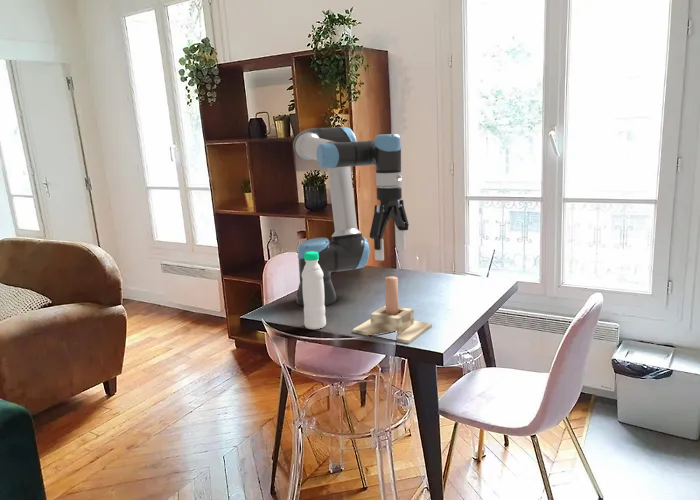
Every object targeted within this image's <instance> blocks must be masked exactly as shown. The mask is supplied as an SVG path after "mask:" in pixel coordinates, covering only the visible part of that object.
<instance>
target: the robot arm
mask: <svg viewBox="0 0 700 500" xmlns="http://www.w3.org/2000/svg"><path fill="white" fill-rule="evenodd" d="M374 138H375V139H372V140H370V139H369V140H365V141H364V140H361V141H357V140H358V139H357V137H356V135H355V133H354V131H353V130H352V129H351V128H350V127H347V126H344V127H343V126H334V127H313V128H311V127H310V128H307V129H304V130H302V131H301V132H299V133H297V135H296V136H295V137H294V140H293V144H292V146H293V151H294V152H295V154H296V155H297V156H298V157H299V158H300V159H303V160H306V161H310V160H311V161H312V160H314V161H317V162H316V163H317V164H318V166H319V167H320V168H321V169H327V173H328V181H329V182H328V183H329V192H330V193H329V194H330V199H331V209H332V217H333V218H332V219H333V225H334V227H333V228H334V232H333V233H332V235H331V240H329V238H327V237H314V238H310V239H307V240H304V241H302V242H300V244H299V245H298V247H297V248H298V249H297V258H298V271H299V272H298V274H299V284H298V287H297V293H296V295H295V299H296V301H295V302H296V304H297V305H299V306H302V307H304V301H303V289H302V280H303V279H302V272H303V269H304V266H305V265H306V262H305V259H304V254H305V253H306V252H309V251H315V252H318V254H319V260H318V264H319V265H320V268H321V269H322V271H323V282H324V305H325V306H329V305H331V304H334V303H336V302H337V293H336V291H335V287H334V285H333V282H332V276H331V273H333V272H336V273H337V272H343V271H344V272H345V271H351V270H352V271H354V270H357V269H361V268H365V266H367V264H368V261H369V259H370V258H369V257H370V244H369V241H368V239H367V238H366V237H364V236H363V233H362V231H360V230H359V229H358V224H357V214H356V206H355V196H354V189H353V188H354V187H353V180H352V179H353V178H352V172H351V171H352V169H351V167H363V166H364V167H365V166H375V179H376V181H375V182H376V183H375V185H376V186H377V188H376V200H378V201H380V204H374V210H373V211H374V213H373V217H372V222H371V225H370V226H371V227H370V232H369V238H370V239H371V240H374V241H373V243H374V244H373V245H374V260H375V261H382V262H383V261H384V260H385V249H384V242H385V241H384V238H383V235H384V233H385V230H386V227H387V225H388V221H390V219H391V218H392V221H393V222H394V224H395V226H396V228H397V229H396V231H395V232H396V233H395V234H396V236H395V237H396V251H398V252H405V251H406V231H409V226H410V225H409V220H408V217H407V213H406V210H405V206H404V205H405V204H404V200H403V199H402V198H403V196H402V195H403V194H402V193H403V192H402V187H401V185H402V178H403V176H402V145H401V143H402V142H401V137H400V135H399V134H398V133H393V134H392V133H388V134H387V133H386V134H383V133H382V134H377V135H376V136H375V137H374Z"/></svg>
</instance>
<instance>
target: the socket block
mask: <svg viewBox="0 0 700 500" xmlns="http://www.w3.org/2000/svg"><path fill="white" fill-rule="evenodd" d="M398 311H399V314H398V315H396V316H394V315H389V314H386V304H385V305H384V306H381V307H379V308H378V309H377V310H374V311H372V313H370V318H369V319H368V320H366V321H364V322H363V323H361V324H360V325H357V326H356V327H354V328H353V329H352V333H353V332H354V334H360V335H363V336H368V335H374V334H380V333H387V332H392V331H397V333H398V335H397V341H396V342H398V343H404V344H411V343H412V342H414V341H415V340H416V339H417V338H419V337H420V336H422V335H424V333H425V332H427V331H428V330H429V329H431V328H432V327H433V324H432V323H430V322H424V321H420V320H419V321H418V320H414V319H415V318H414V314H415V312H414V308H406V307H402V306H398Z"/></svg>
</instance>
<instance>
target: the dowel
mask: <svg viewBox="0 0 700 500" xmlns="http://www.w3.org/2000/svg"><path fill="white" fill-rule="evenodd" d="M398 282H399V278H398V277H397V276H392V275H391V276H385V277H384V293H385V295H384V296H385V305H386V314H389V315H394V316H396V315H398V314H399V311H398V307H399V283H398Z"/></svg>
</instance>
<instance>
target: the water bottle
mask: <svg viewBox="0 0 700 500" xmlns="http://www.w3.org/2000/svg"><path fill="white" fill-rule="evenodd" d="M304 259H305V262H306V265H305V266H304V269H303V272H302V279H303V280H302V289H303V301H304V306H303V315H304V317H303V318H304V320H303V321H304V322H303V323H304V326H305V328H306V329H308V330H320V328H321V329H323V328H324V327H326V325H327V318H326V305H324V282H323V271H322V269H321V268H320V265H319V264H318V260H319V254H318V252H315V251H309V252H306V253H305V254H304Z"/></svg>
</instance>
